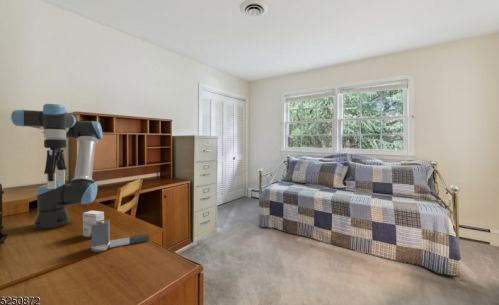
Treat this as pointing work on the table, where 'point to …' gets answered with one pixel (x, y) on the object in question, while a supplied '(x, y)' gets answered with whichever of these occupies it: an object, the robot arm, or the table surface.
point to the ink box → (90, 221)
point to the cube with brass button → (100, 232)
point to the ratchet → (122, 242)
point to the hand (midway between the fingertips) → (56, 186)
